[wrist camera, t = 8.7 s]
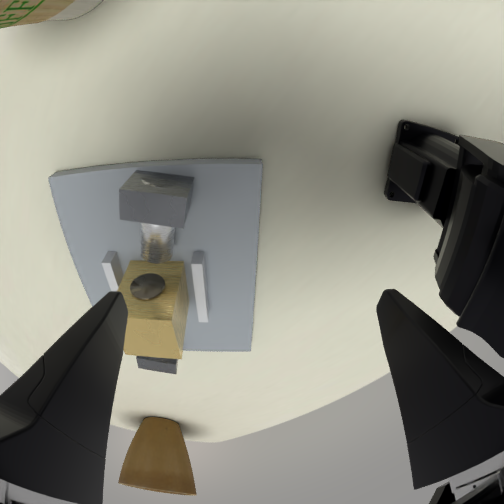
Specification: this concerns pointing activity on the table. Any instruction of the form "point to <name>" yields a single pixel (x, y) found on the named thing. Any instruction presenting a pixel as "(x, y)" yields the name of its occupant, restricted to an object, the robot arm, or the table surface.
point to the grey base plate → (185, 240)
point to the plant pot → (158, 459)
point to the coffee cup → (42, 10)
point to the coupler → (155, 308)
